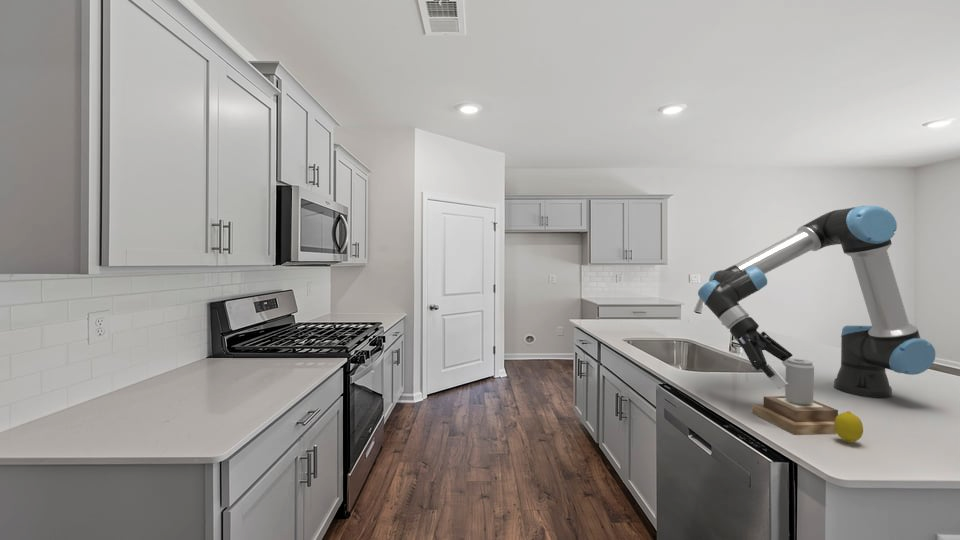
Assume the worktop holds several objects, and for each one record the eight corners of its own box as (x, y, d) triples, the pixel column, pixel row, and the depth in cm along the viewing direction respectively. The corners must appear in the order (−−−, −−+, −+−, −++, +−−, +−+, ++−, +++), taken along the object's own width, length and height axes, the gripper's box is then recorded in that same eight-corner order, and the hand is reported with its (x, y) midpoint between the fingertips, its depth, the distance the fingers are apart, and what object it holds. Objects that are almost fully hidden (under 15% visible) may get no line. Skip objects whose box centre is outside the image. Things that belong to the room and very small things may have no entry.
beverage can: (807, 400, 124) (809, 358, 123) (817, 407, 118) (818, 364, 117) (781, 397, 126) (782, 357, 125) (789, 404, 120) (790, 362, 119)
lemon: (828, 438, 111) (828, 407, 111) (847, 437, 111) (848, 407, 111) (848, 448, 105) (849, 415, 105) (868, 447, 106) (869, 415, 106)
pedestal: (802, 411, 130) (803, 392, 130) (851, 433, 114) (851, 412, 114) (752, 412, 129) (752, 393, 129) (794, 434, 113) (794, 413, 113)
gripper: (749, 326, 144) (800, 382, 132) (709, 334, 130) (762, 396, 118) (767, 312, 139) (822, 368, 127) (727, 319, 125) (785, 382, 113)
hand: (793, 382), depth 123 cm, fingers open, 13 cm apart
